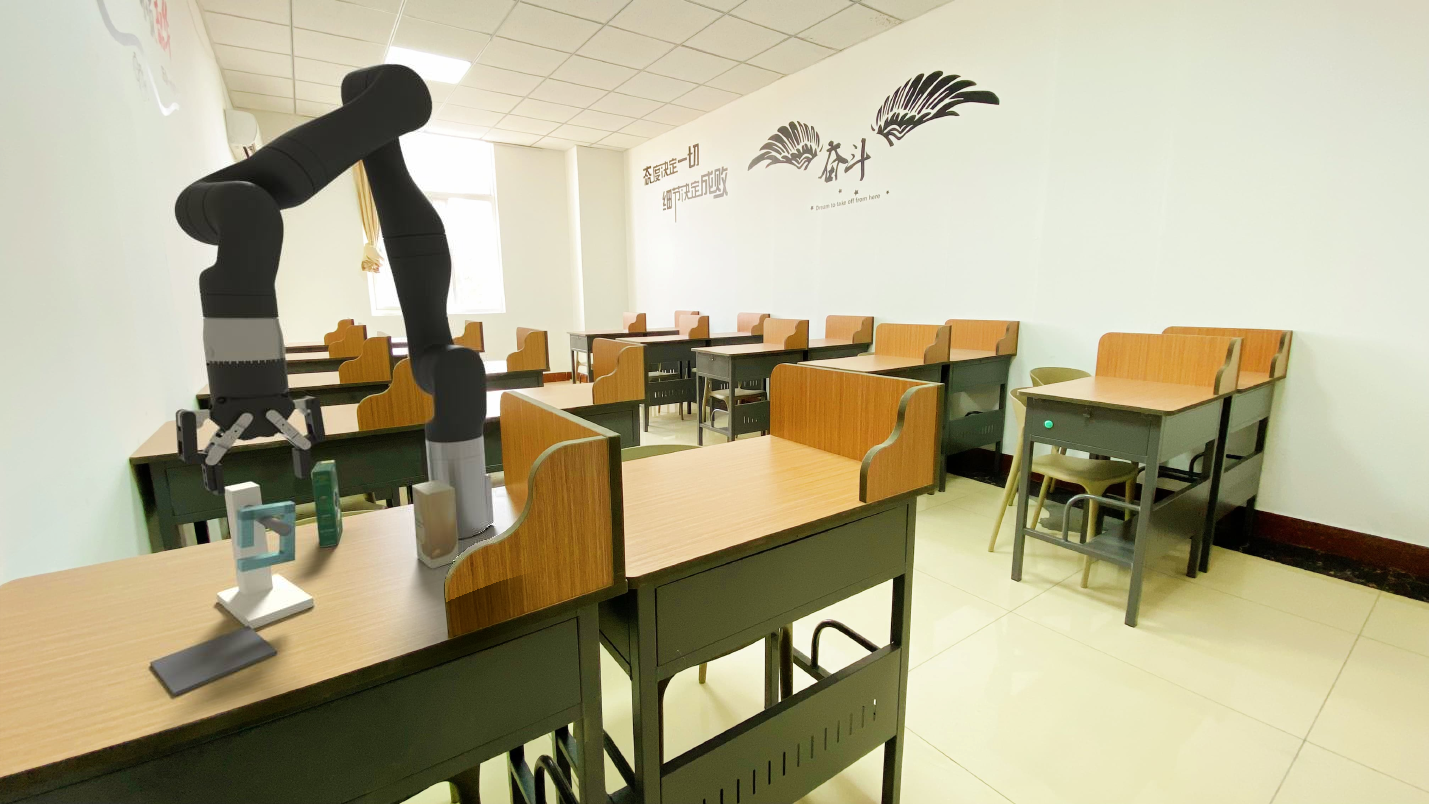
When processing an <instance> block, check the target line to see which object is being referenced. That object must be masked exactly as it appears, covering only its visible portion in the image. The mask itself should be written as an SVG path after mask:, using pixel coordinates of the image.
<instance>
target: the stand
mask: <svg viewBox="0 0 1429 804" xmlns="http://www.w3.org/2000/svg"><path fill="white" fill-rule="evenodd" d="M260 487H261V486H260V485H259V484H257V483H255V482H253V481H246V482H243V483H237V484H232V485H228V486H225V494H224V499H225V506H226V513H227V520H228V526H229V532H230V540H231V546H232V547H231V549H232V553H233V555H232V556H233V560H234V561H233V563H234V569H235V575H236V582H237V586H235V587H232V588H228V589H225V590H221V591H219V592H216V599H217V602H218V603H219V604H220V605H221V604H222V605H223V606H224V609H226V610H227V611H228V612H229V611H230V612H229V613H230V614H231V615H233V617H235V618H236V619H237V620H238V621H240V622H241V624H243V625H244V627H246V626H249V627H251V628H252V629H253V630H254V629H257V628H259V627H261V626H265V625H267V624H270V623H272V622H275V621H278V620H280V619H283V618H287V617H288V616H291V615H294V614H296V613H299V612H302V611H304V610H306V609H309V608H312V607H314V606H315V603H314V597H313V596H311V595H310V594H308V593H306V592H305V591H303V589H301V588H300V587H298V586H296V585H295V584H294V583H292V582H290V581H289V580H287V579H286V578H285V577H283V576H282V575H280V574H279V573H276V574H272V569H271V566H267V567H263V568H258V569H254V570H249V571H245V572H241V571H240V570H238V569H237V559H241V558H246V557H251V556H256V555H261V554H266V553H269V547H268V546H269V545H268V540H267V533H266V531H267V529H268V530H270V531H272V532H274V533H276V534H277V535H278V536H279V535H281V536H287V535H289V534H290V533H291V532H292V527H291V526H290V525H288V524H286V523H284V522H282V521H281V520H279V518H277V517H276V516H271V517H265V518H259V519H254V546H252V547H247V548H240V547H239V546H238V545H237V509H240V508H247V507H253V506H260V505H263V502H262V494H261V493H262V492H261V488H260ZM266 528H267V529H266ZM222 605H221V606H222ZM223 606H222V607H223Z"/></svg>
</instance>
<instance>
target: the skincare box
mask: <svg viewBox="0 0 1429 804" xmlns="http://www.w3.org/2000/svg"><path fill="white" fill-rule="evenodd" d="M411 488H412V489H411V490H412V502H413V515H414V517H413V518H414V529H415V540H416V541H415V542H416V555H417V557H418V559H419V560H420V561H422V563H424V564H425V565H426V566H428V567H429V568H431V569H432V570H433V569H436V568H439V567H444V566H445V565H449V564H452V563H454V562H453V560H455V559H456V557H457V556H458V555H459V542H458V541H459V539H458V537H457V520H456V504H455V489H454V488H453V487H451V486H449V485H448V484H446V483H444V482H442V481H440V480H434V481H430V482H429V481H425V482H421V483H417V484H413V485H411ZM459 556H460V555H459Z"/></svg>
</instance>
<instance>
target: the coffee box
mask: <svg viewBox="0 0 1429 804" xmlns="http://www.w3.org/2000/svg"><path fill="white" fill-rule="evenodd" d="M310 475H311V484H312V492H313V498H314V499H313V500H314V506H315V507H314V509H315V516H316V524H317V525H316V526H317V535H318V544H319V546H318V547H320V548H325V547H332V546H336V545H338V544H339V543H340V538H341V534H342V532H343V518H342V510H341V509H342V508H341V501H340V490H339V483H338V474H337V468H336V460H335V459H331V460H320V461H317V462H316V464H315V466H314V467H313V468H312V469H311V472H310Z"/></svg>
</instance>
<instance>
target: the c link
mask: <svg viewBox="0 0 1429 804" xmlns="http://www.w3.org/2000/svg"><path fill="white" fill-rule="evenodd" d="M271 516H273V517H277V516H279V518H278V519H279V520H281V521H282V522H284V523H286V524H288V525H290V526H291V527H292V532H291V533H290V534H289V535H287V536H281V535H279V534H278V536H279V537H278V539H279V540H278V541H279V544H278V545H279V546H278V548H279V549H278V550H276V551H271V552H268V553H266V554H261V555H256V556H251V557H246V558H241V559H237V569H238V570H240V571H241V572H245V571H249V570H254V569H258V568H263V567H267V566H270V567H271V566H276V565H281V564H284V563H289V562H294V561H296V503H295V502H293V501H291V500H288V501H282V502H273V503H268V504H262V505H260V506H253V507H247V508H240V509H237V545H238V546H239V547H240V548H247V547H252V546H254V519H259V518H265V517H271Z"/></svg>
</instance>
